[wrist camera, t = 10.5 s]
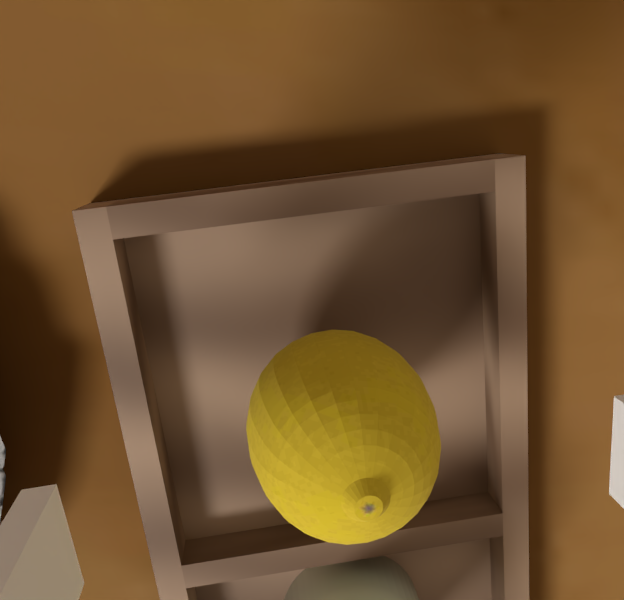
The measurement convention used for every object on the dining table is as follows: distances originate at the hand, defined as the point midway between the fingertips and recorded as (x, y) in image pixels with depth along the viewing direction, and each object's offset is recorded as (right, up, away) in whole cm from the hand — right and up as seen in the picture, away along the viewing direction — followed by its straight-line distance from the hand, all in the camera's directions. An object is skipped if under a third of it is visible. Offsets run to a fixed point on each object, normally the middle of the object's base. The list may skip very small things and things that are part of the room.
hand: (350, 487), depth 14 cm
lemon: (-1, +2, +8) cm, 8 cm away
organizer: (0, -2, +9) cm, 9 cm away
